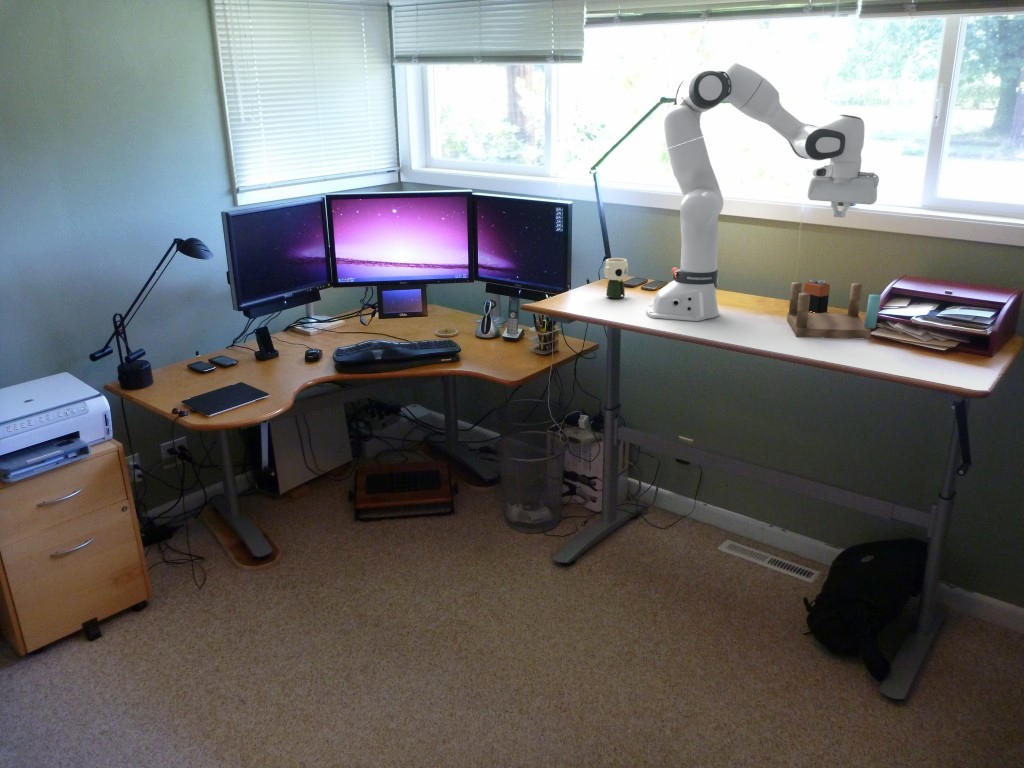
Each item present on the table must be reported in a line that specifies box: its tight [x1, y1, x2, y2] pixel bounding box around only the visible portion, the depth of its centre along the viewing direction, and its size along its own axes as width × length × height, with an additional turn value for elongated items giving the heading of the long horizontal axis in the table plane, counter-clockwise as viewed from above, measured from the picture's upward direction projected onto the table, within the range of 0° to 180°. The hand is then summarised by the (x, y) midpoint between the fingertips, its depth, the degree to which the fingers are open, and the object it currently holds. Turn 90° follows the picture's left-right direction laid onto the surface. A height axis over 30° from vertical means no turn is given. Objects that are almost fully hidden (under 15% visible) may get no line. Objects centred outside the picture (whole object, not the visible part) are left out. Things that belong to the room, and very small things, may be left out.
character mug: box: [603, 257, 629, 299], centre depth 283 cm, size 11×7×13 cm, turn 128°
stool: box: [786, 281, 872, 340], centre depth 243 cm, size 20×18×12 cm
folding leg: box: [864, 293, 881, 329], centre depth 235 cm, size 3×3×9 cm
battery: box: [802, 278, 831, 313], centre depth 263 cm, size 4×7×10 cm, turn 32°
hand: (839, 217), depth 258 cm, fingers closed
